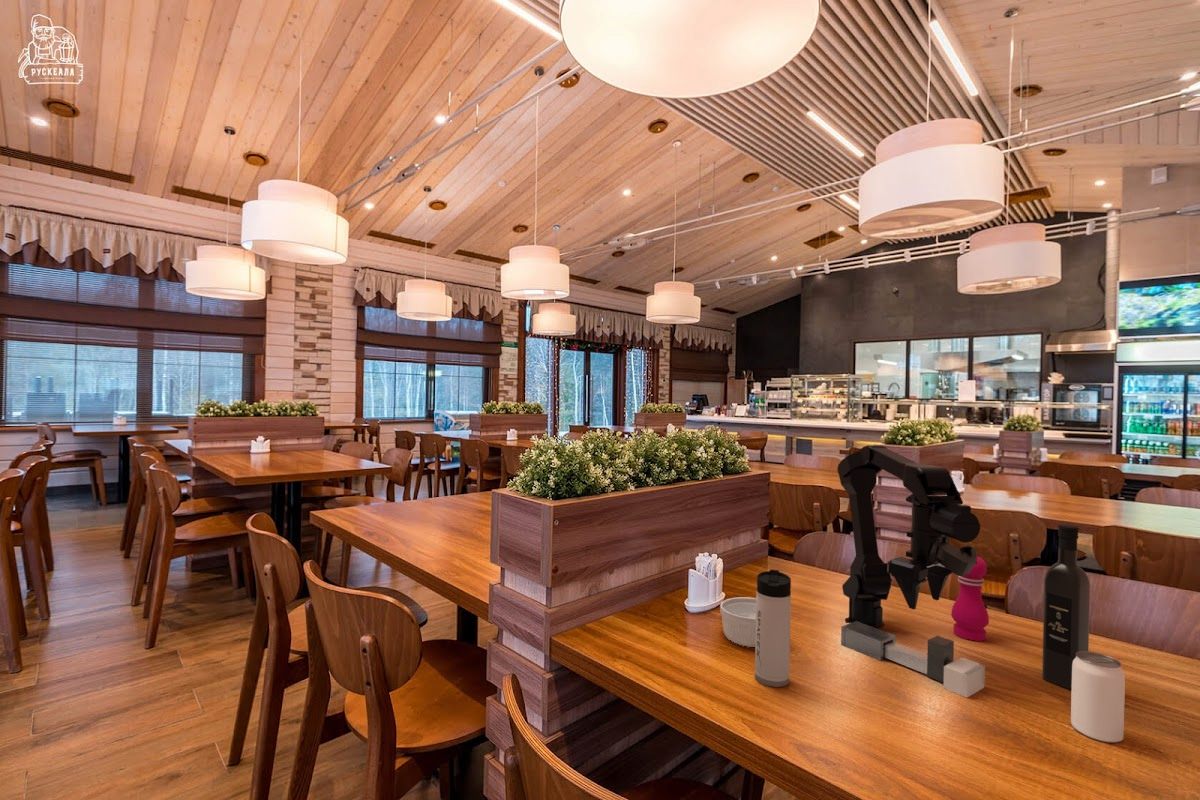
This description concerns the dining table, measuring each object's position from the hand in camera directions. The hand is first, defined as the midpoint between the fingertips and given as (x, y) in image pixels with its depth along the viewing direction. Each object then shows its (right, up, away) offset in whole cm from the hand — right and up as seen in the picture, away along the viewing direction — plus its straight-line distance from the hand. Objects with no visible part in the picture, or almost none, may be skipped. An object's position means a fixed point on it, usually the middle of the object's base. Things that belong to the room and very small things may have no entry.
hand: (924, 604), depth 116 cm
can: (+15, -13, -24) cm, 30 cm away
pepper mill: (+18, -12, +14) cm, 26 cm away
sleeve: (-9, -12, +5) cm, 15 cm away
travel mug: (-33, -12, -8) cm, 36 cm away
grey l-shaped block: (-2, -12, -5) cm, 13 cm away
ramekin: (-33, -12, +11) cm, 36 cm away
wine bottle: (+23, -13, -7) cm, 27 cm away
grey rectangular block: (+2, -12, -10) cm, 16 cm away
